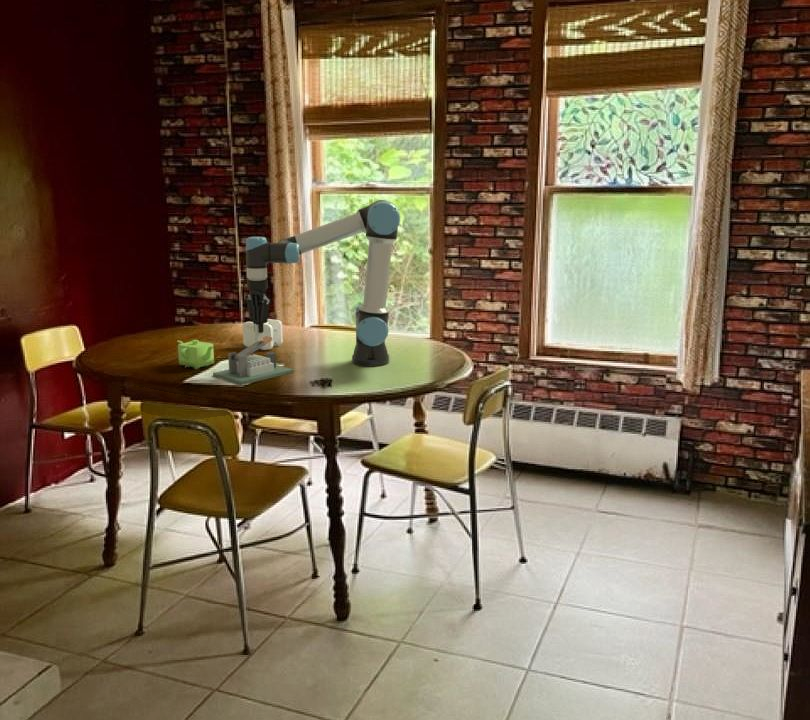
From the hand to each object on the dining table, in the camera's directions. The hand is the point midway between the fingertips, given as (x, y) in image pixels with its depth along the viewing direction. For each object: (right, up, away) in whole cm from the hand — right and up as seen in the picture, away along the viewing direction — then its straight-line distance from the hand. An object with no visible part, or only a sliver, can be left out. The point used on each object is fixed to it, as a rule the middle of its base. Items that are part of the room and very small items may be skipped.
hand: (259, 340), depth 299 cm
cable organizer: (-6, -2, +45) cm, 45 cm away
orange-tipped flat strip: (-2, -4, -2) cm, 5 cm away
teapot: (-27, -10, +12) cm, 31 cm away
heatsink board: (-2, -13, 0) cm, 13 cm away
